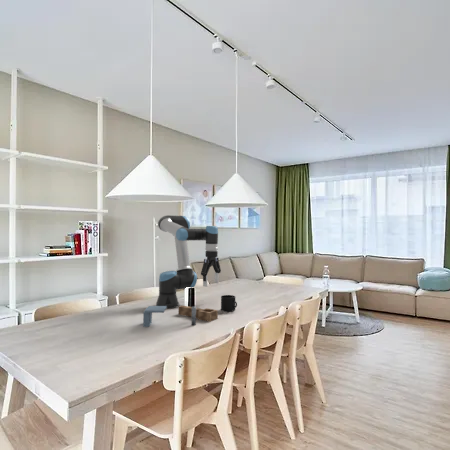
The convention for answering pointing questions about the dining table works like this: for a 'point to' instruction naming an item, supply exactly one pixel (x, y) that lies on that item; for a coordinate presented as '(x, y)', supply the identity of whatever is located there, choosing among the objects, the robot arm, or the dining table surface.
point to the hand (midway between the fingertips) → (210, 284)
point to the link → (199, 313)
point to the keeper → (148, 314)
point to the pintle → (193, 315)
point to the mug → (228, 303)
